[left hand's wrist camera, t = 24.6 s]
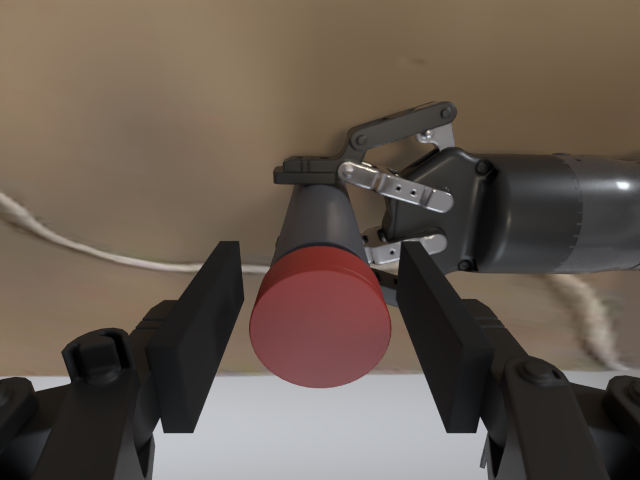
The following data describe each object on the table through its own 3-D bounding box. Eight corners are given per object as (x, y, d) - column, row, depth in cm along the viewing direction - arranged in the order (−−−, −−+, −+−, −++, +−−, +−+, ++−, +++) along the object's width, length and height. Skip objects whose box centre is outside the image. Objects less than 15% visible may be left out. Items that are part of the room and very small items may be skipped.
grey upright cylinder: (295, 212, 29) (261, 364, 12) (294, 162, 27) (255, 258, 11) (344, 213, 29) (377, 366, 12) (346, 163, 27) (387, 261, 11)
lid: (325, 369, 13) (326, 408, 12) (234, 306, 12) (220, 339, 11) (407, 296, 12) (421, 328, 10) (313, 219, 11) (312, 241, 9)
